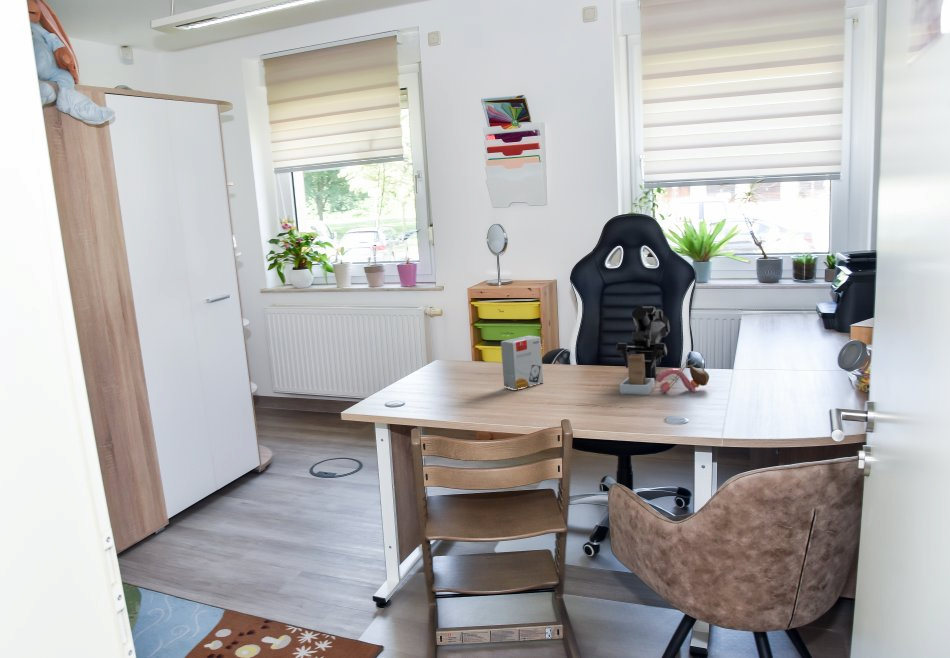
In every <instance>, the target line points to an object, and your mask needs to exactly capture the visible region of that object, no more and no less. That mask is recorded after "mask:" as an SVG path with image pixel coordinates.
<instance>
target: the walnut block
mask: <svg viewBox="0 0 950 658" xmlns="http://www.w3.org/2000/svg"><path fill="white" fill-rule="evenodd" d="M628 355H629V356H628V368H627V369H628V378H629V385H646V378H645V359H644V354H635V353H631V354H628Z"/></svg>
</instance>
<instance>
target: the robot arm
mask: <svg viewBox="0 0 950 658" xmlns="http://www.w3.org/2000/svg"><path fill="white" fill-rule="evenodd" d="M631 317H632V318H633V322H634V325H635V326H636V331H632V332H631V341H632V345H628V342H617V343H616V345H615V349H616V352H617V354H618V356H621V358H623V360H624V364H625V368H626V369H628V356H629V355H630V352H635V353H634V354H644V359H645V378H654V380H657V376H658V374H659V373H657V365H658V364H660V363H661V359H662V358H663V357H666V356H667V354H668V349H667V346H666V343H664V342H660V341H661V339H662V338H664V337H667V336H668V335H669V333H670V330H671V329H670V328H671V326H670V321H669V319H668V317H667V316H666V315H665V314H664V311H663V309H662V310H661V309H657V308H656V306H651V305H650V306H644V305H637V308H634V309H633V310H632V312H631ZM655 320H660V321H655Z"/></svg>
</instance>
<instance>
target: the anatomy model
mask: <svg viewBox="0 0 950 658" xmlns="http://www.w3.org/2000/svg"><path fill="white" fill-rule="evenodd" d="M691 359H694V360H696V361H695V362H694V363H693V364H689V365H685V364H686V363H688V362H689V361H690V360H691ZM684 365H685V366H684ZM696 365H698V366H699V367H700V368H698V367H694V366H696ZM685 368H689V373H690V376H691V380H690V379H689V378H688V377H687V375H686V374H685V373H684V372H683V371H684V369H685ZM657 374H658V376H657V378H656V381H657V383H661V382H662V381H664V379H665V378H667V377H668V376H670V375H673V378H672V376H671V377H669V378H670V379H671V381H670V382H669V381H665V382H663V383H662V384H661V385H660V392H661V393H662V394H665V393H667V392H668V391H669V390H670V389H671V388H672V387H673V386H674V385H675V383H678V381H679V379H680V380H681V382H682V384H683V386H684V387H685V388H686V389H687V390H689V391H692V392H693V393H698V392H697V390H696V388H699V387H700V386H702V387H704V386H707V385H708V382H709V380H710V375H709V373H708V372H707V371H705V368H704V366H703V365H702V363H701V362H700V361H699V359H697V358H696V357H694V356H691V357H690V358H689V359H687V360H686V361H685V362H684V363H683V364H682V366H681V367H680V369H678V368H668V369H666V370H664V371H662V372H659V373H657ZM674 375H676V376H674Z"/></svg>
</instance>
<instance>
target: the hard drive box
mask: <svg viewBox="0 0 950 658" xmlns="http://www.w3.org/2000/svg"><path fill="white" fill-rule="evenodd" d="M541 339H542V338H541V336H538V335H537V336H535V335H524V336H520V337H515V338H511V339H506V340H502V341H500V350H501V362H502V363H501V364H502V374H503V376H502V377H503V387H504V386H506V387H510V388H513V389H518V388H521V387H526V386H530V385H534V384H538V383H542V382H543V383H544V374H543V357H542V344H541V343H542V341H541Z"/></svg>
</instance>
